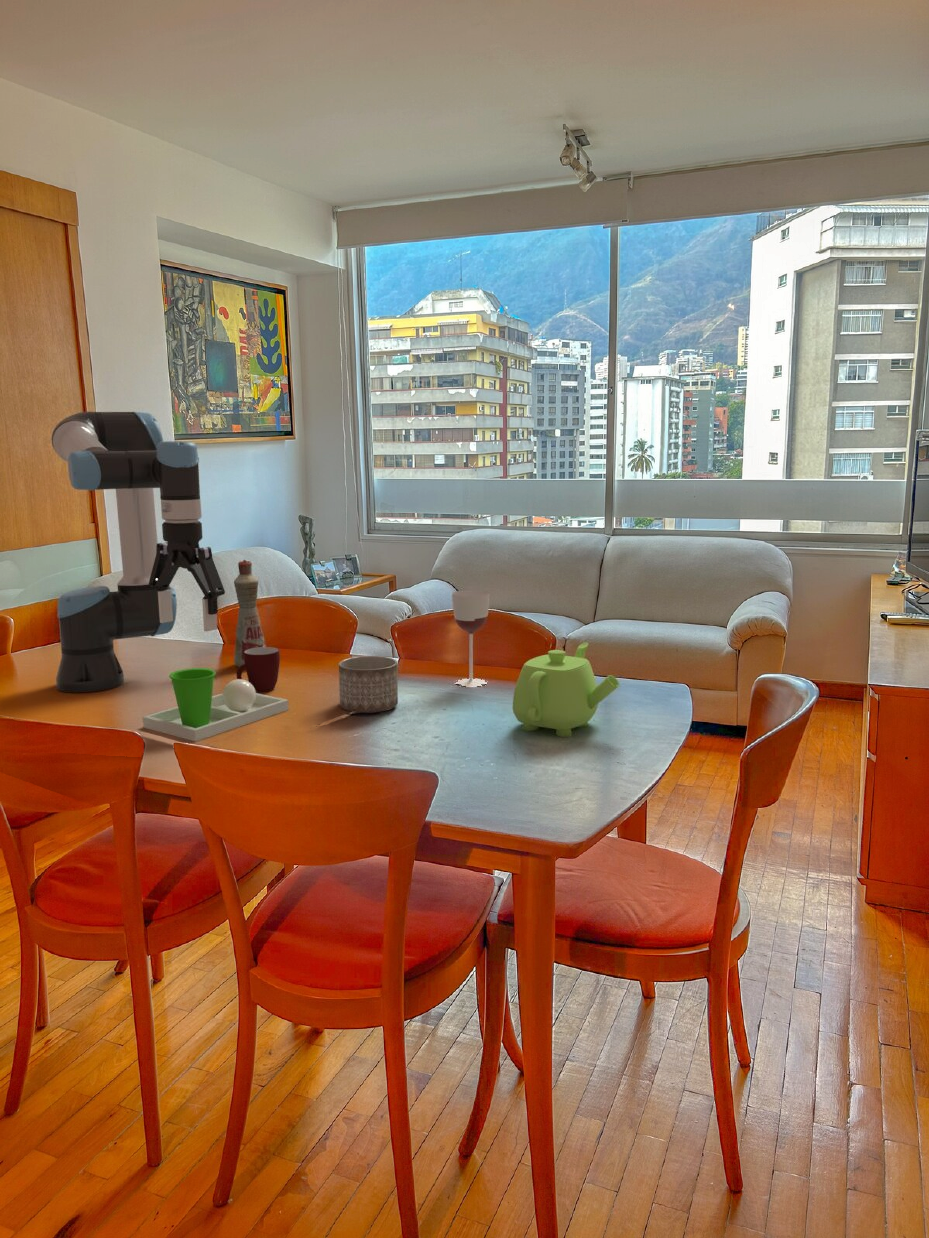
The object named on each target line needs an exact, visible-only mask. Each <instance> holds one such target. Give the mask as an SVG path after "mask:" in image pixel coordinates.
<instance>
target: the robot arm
mask: <svg viewBox="0 0 929 1238" xmlns="http://www.w3.org/2000/svg"><path fill="white" fill-rule="evenodd" d="M51 444H52V445H51V446H52V447H53V450H54V451H55V453H56V454H57V456H58V457H59V458H60V459H61V460H63V461H65V462H66V463H67V469H68V478H69V481H70V485H71V487H72V488H73V489H75V490H77V491H79V490H82V491H83V490H85V491H99V490H115V498H116V508H117V509H116V510H117V523H118V530H119V542H120V553H121V555H120V556H121V566H122V567H121V568H122V577H121V579H120V580H119V581H118V582H117V586H116V587H117V591H110V588H109V587H108V586H106V585H97V586H89V587H83V588H82V587H81V588H78V589H73V590H71V591H68V592H65V593H63V594H62V595H60V596H59V598H58V599H57V615H56V617H57V619H58V626H59V639H60V648H61V658H60V662H59V666H58V671H57V675H56V677H55V684H56V685H55V686H56V689H57V690H59V691H60V692H65V693H76V694H77V693H91V692H99V691H106V690H109V689H113V688H117V687H119V686H121V685H123V684H124V683H125V675H124V671H123V668H122V666H121V664H120V662H119V659H118V658H117V655H116V653H115V648H114V641H115V640H123V639H132V638H141V637H142V638H143V637H155V636H159V635H165V634H168V633H170V632H171V631H172V630H173V628H174V625H175V622H176V617H177V609H178V607H177V605H178V604H177V601H178V600H177V596H176V595H177V594H176V593H177V592H176V590H175V587H172V586H170V585H171V583H172V581H173V580H174V578H175V576H176V574H177V572H178V570H179V568H181V569H184V570H187V571H188V572H190V573H191V575H192V577H193V578H194V580H195V581H196V583H197V585H198V588H200V590H201V593H202V594H203V597H202V599H201V600H202V619H203V620H202V621H203V631H204V632H211V631H214V630H218V620H217V619H218V618H217V617H218V615H217V614H218V612H219V608H218V599H219V597H221V596H223V595H225V594H226V591H225V588H224V586H223V583H222V580H221V577H220V574H219V573H218V570H217V566H216V564H215V561H214V559H213V554H212V553H213V552H212V547H210V546H205V547H201V546H200V544H199V543H200V541H202V540H203V526H202V525H203V524H202V522H201V521H200V519H202V517H203V516H202V515H203V514H202V504H201V503H202V502H201V488H200V486H201V485H200V469H199V463H200V458H199V453H198V446H197V443H195V442H193V441H182V440H181V441H179V440H178V441H172V440H171V441H170V440H169V441H168V440H166V441H164V438H163V434H162V431H161V427H160V424H159V423H158V420H157V419H156V418H155V416H154V415H153V414H151V413H149V412H140V411H139V412H137V411H81V412H79V413H78V412H77V413H74V414H71V415H69V416H67V417H65V418H63V419H62V420H61V421H59V422H58V423H57V424H56V425H55V427H54V428H53V431H52V433H51ZM154 489H159V494H160V495H159V496H160V498H159V499H160V510H161V511H160V512H161V519H162V520H164V521H163V522H162V523H161V530H162V532H161V533H162V540H163V541H164V542H158V531H157V520H156V519H157V518H156V508H155V495H154Z"/></svg>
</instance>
